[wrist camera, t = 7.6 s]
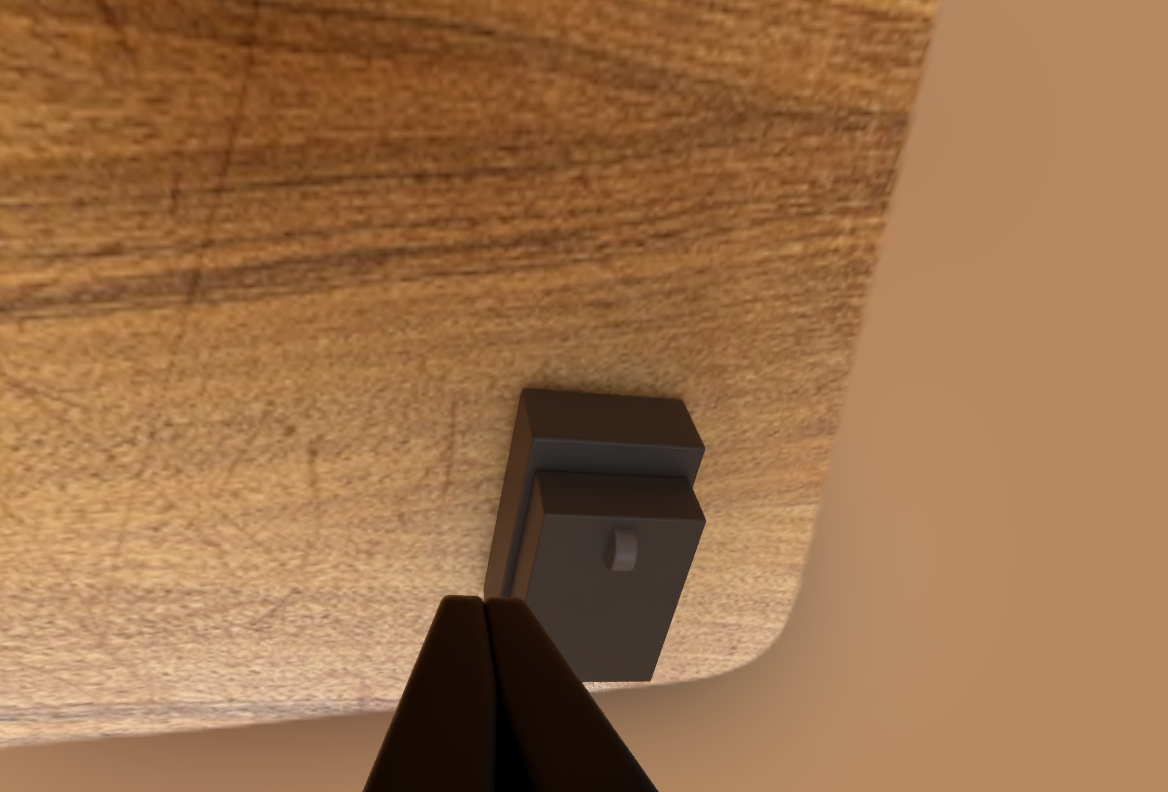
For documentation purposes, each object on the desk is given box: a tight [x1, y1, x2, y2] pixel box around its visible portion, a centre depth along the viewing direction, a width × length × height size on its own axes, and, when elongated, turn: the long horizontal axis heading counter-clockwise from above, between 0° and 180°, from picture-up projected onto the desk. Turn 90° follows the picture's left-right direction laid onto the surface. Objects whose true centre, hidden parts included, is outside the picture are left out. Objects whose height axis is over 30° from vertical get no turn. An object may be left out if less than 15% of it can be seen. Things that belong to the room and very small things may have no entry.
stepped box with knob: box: [484, 389, 706, 682], centre depth 22 cm, size 4×6×4 cm, turn 169°
